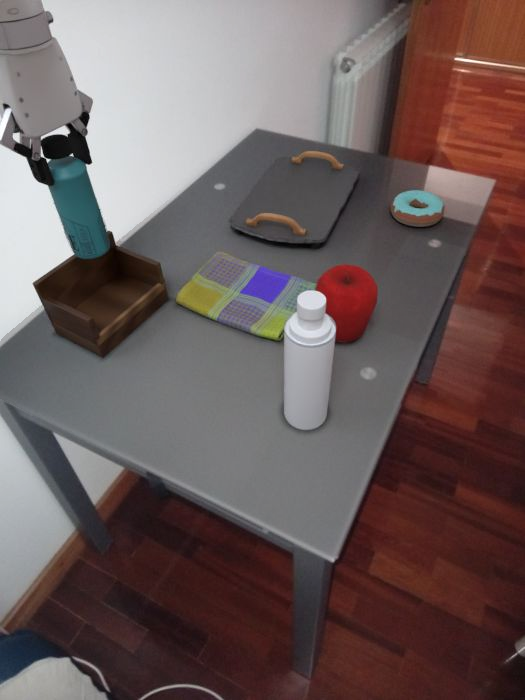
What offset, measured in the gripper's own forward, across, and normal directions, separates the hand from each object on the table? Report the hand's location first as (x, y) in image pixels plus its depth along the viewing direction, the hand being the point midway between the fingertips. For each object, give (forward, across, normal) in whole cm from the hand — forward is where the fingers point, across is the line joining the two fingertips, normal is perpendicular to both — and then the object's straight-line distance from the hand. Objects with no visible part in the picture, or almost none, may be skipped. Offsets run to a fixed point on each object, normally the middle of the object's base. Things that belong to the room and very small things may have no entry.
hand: (65, 171), depth 72 cm
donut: (+29, -61, +37) cm, 77 cm away
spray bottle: (+29, +1, +42) cm, 51 cm away
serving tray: (+29, -52, +11) cm, 61 cm away
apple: (+29, -18, +39) cm, 52 cm away
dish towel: (+29, -17, +19) cm, 39 cm away
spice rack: (+29, 0, 0) cm, 29 cm away
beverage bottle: (+15, 0, 0) cm, 15 cm away
